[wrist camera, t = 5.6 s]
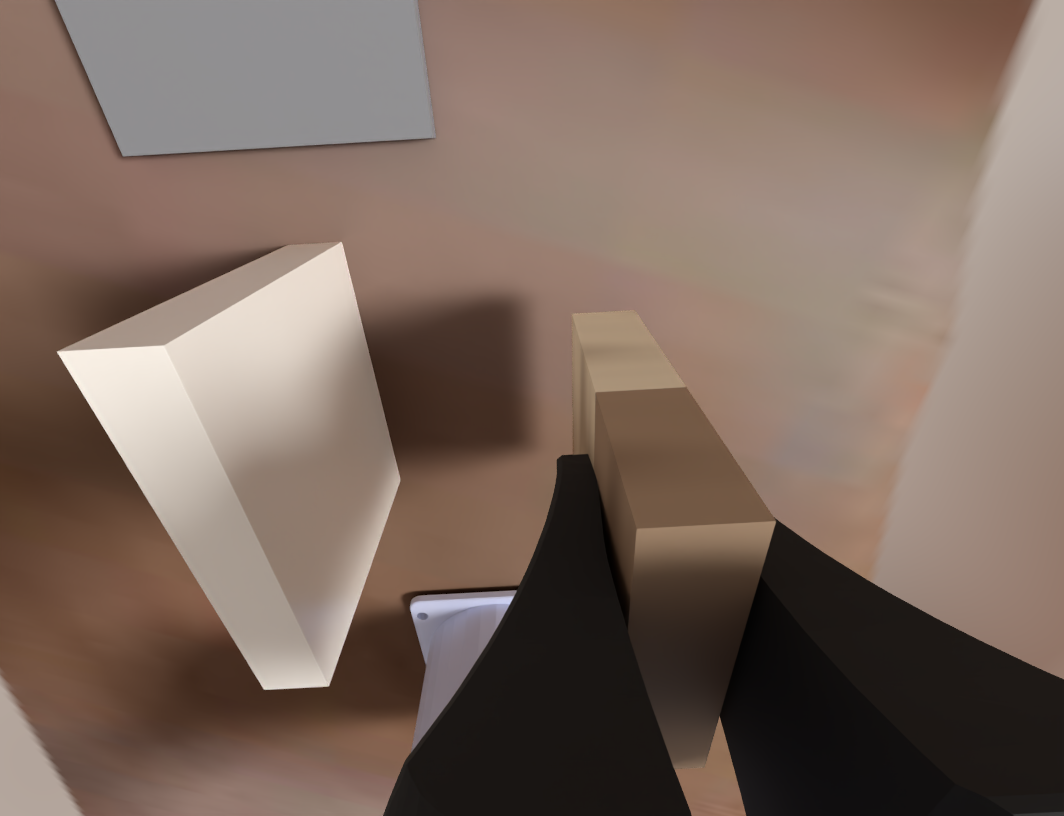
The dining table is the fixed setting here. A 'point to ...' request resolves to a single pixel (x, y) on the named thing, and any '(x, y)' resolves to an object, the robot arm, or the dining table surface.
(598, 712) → the robot arm
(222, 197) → the dining table surface
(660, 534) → the stepped beige block
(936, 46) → the dining table surface
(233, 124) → the mat
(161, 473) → the tile
